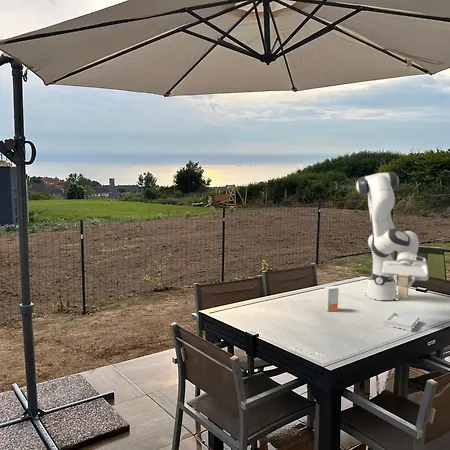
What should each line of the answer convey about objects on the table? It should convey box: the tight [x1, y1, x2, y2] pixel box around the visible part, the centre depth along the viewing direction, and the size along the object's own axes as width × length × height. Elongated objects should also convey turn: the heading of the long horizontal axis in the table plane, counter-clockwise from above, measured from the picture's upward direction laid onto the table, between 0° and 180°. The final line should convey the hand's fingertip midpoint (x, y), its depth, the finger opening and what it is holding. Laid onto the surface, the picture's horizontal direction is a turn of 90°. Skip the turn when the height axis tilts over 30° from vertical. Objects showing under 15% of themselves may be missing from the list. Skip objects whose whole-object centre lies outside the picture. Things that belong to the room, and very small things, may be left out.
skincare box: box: [323, 285, 339, 312], centre depth 217 cm, size 6×4×12 cm
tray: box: [383, 311, 420, 329], centre depth 196 cm, size 16×12×3 cm
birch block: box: [397, 274, 410, 299], centre depth 194 cm, size 4×4×10 cm
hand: (403, 285), depth 194 cm, fingers closed on birch block, 4 cm apart
